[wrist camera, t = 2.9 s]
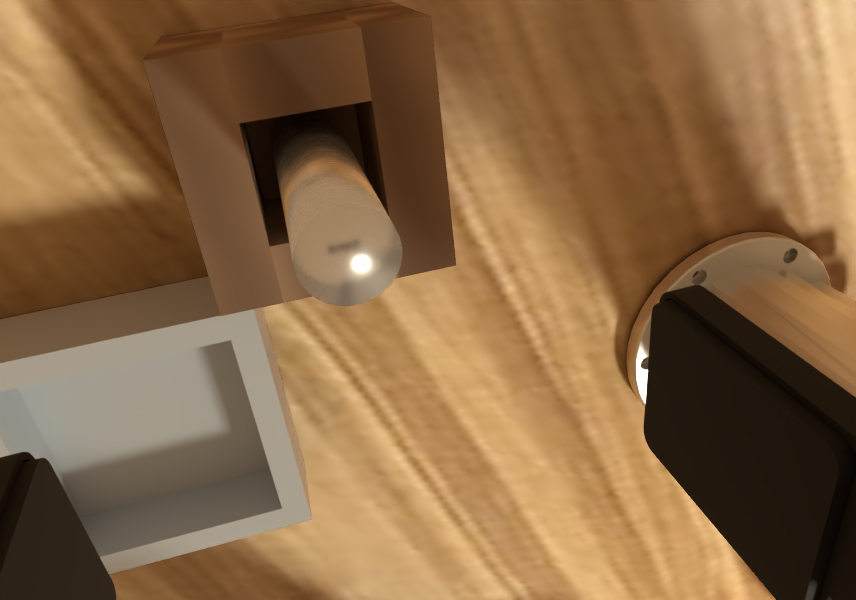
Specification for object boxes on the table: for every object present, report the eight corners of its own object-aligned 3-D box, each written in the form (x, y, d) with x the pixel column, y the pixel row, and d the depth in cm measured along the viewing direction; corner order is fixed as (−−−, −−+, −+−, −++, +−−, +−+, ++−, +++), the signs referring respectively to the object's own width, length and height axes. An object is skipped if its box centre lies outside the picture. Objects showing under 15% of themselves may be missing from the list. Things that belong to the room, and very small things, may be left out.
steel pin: (333, 99, 27) (394, 194, 17) (345, 166, 28) (409, 292, 18) (263, 111, 27) (281, 217, 16) (279, 178, 28) (305, 316, 18)
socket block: (393, 2, 27) (430, 16, 22) (419, 212, 31) (456, 265, 26) (160, 36, 25) (142, 60, 20) (223, 251, 30) (221, 316, 25)
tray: (251, 267, 30) (253, 308, 27) (304, 465, 36) (311, 519, 33) (-34, 326, 29) (-71, 378, 25) (71, 525, 34) (52, 589, 31)
